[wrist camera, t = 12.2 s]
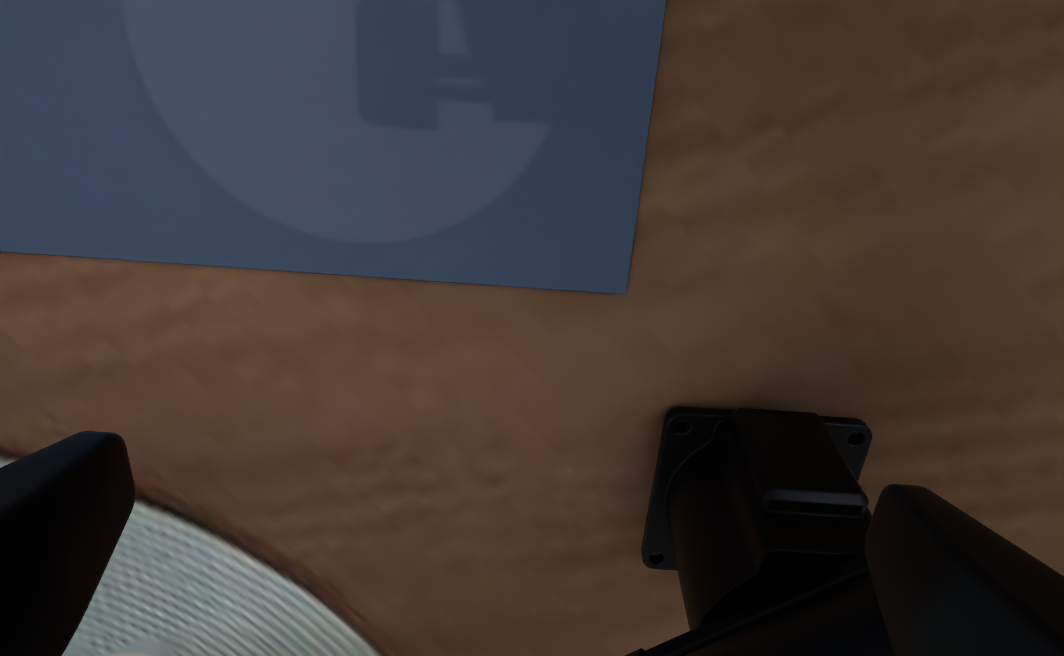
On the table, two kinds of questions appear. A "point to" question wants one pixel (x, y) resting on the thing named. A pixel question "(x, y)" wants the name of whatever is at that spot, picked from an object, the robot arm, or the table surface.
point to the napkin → (332, 135)
